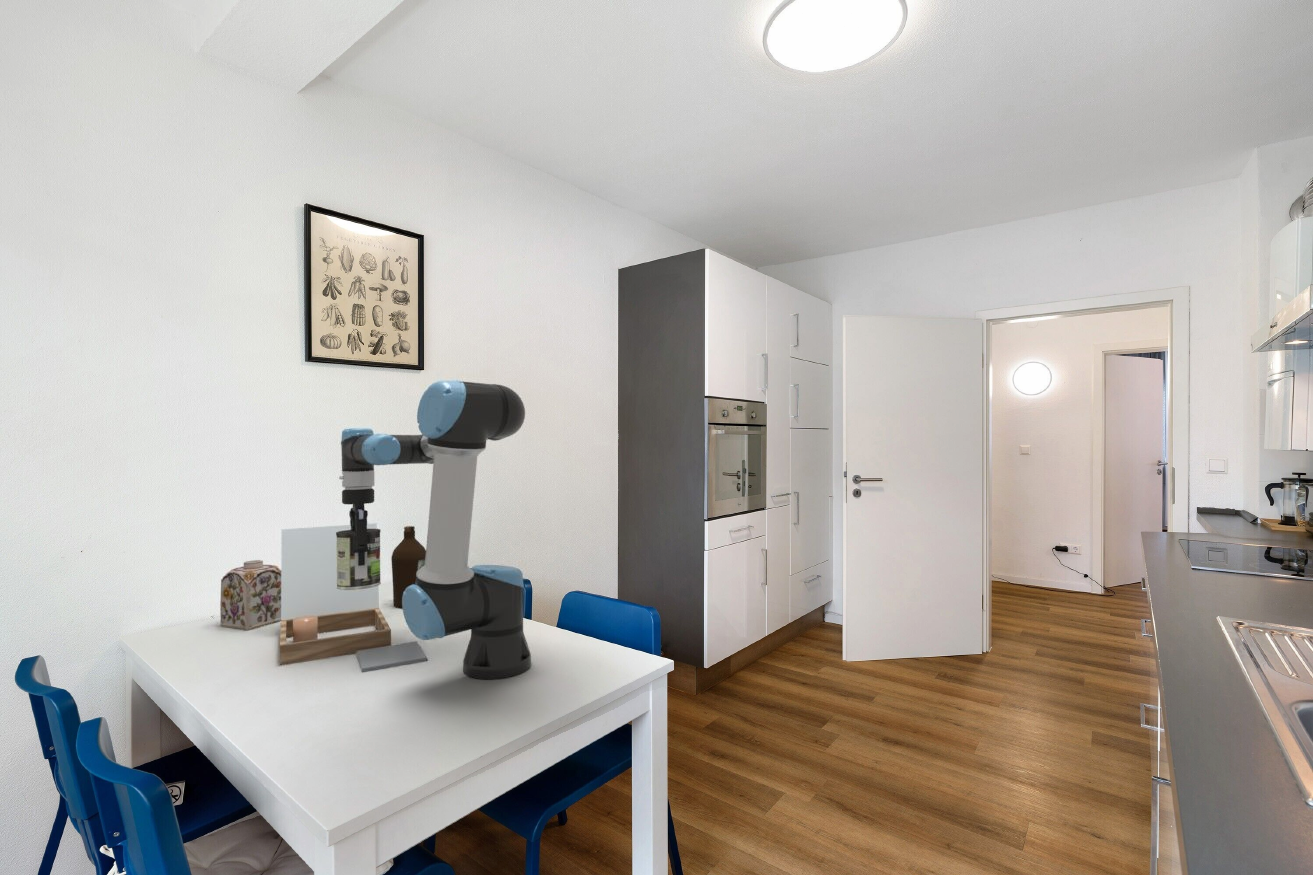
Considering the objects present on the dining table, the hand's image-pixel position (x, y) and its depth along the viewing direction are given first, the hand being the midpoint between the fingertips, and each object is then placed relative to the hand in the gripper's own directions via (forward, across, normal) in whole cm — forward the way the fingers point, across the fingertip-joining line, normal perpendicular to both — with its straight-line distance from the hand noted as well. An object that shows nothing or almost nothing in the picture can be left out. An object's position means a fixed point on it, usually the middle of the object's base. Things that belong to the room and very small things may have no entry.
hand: (359, 574), depth 157 cm
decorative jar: (+17, -38, -24) cm, 48 cm away
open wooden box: (+18, -6, -5) cm, 20 cm away
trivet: (+18, +14, +6) cm, 24 cm away
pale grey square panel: (+1, -21, -5) cm, 22 cm away
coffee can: (+3, 0, 0) cm, 3 cm away
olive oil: (+17, -36, +18) cm, 44 cm away
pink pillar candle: (+18, -11, -12) cm, 24 cm away
